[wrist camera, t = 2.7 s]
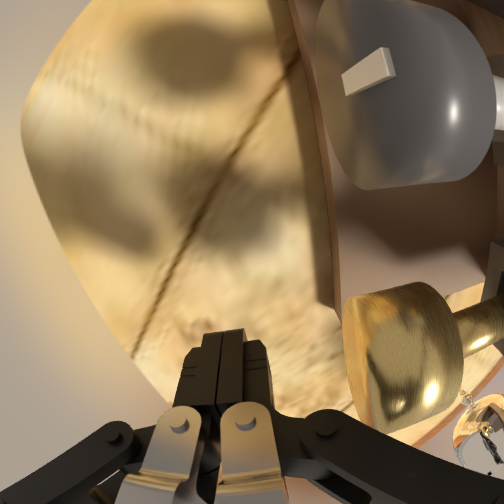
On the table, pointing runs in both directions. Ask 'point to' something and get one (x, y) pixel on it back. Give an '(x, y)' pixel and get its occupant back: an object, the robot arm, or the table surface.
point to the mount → (414, 195)
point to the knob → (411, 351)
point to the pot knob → (404, 92)
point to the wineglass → (480, 433)
